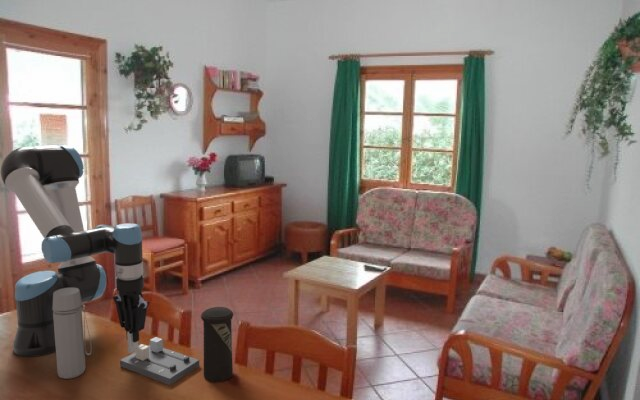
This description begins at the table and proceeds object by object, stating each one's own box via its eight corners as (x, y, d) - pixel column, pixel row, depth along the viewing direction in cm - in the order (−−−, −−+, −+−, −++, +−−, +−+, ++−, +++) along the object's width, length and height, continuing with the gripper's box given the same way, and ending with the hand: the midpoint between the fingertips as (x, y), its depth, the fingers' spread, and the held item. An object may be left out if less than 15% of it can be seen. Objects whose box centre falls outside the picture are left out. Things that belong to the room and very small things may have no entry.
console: (120, 366, 143) (119, 356, 142) (151, 349, 153) (151, 340, 152) (169, 385, 133) (169, 374, 133) (199, 366, 144) (199, 356, 143)
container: (226, 385, 134) (226, 318, 131) (197, 380, 136) (195, 314, 133) (238, 369, 143) (237, 306, 139) (209, 365, 144) (209, 303, 141)
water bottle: (57, 383, 133) (50, 298, 128) (57, 369, 140) (51, 288, 135) (93, 375, 137) (88, 293, 133) (92, 363, 144) (87, 284, 139)
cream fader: (135, 358, 143) (135, 346, 142) (142, 354, 145) (141, 343, 144) (143, 360, 142) (142, 349, 141) (149, 357, 144) (148, 346, 143)
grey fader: (150, 350, 148) (149, 339, 147) (156, 347, 150) (155, 336, 149) (157, 352, 146) (156, 341, 146) (163, 349, 148) (162, 338, 148)
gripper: (103, 276, 140) (108, 350, 145) (135, 284, 134) (138, 361, 139) (125, 269, 147) (128, 340, 151) (155, 276, 141) (158, 350, 145)
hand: (133, 350), depth 145 cm, fingers closed
